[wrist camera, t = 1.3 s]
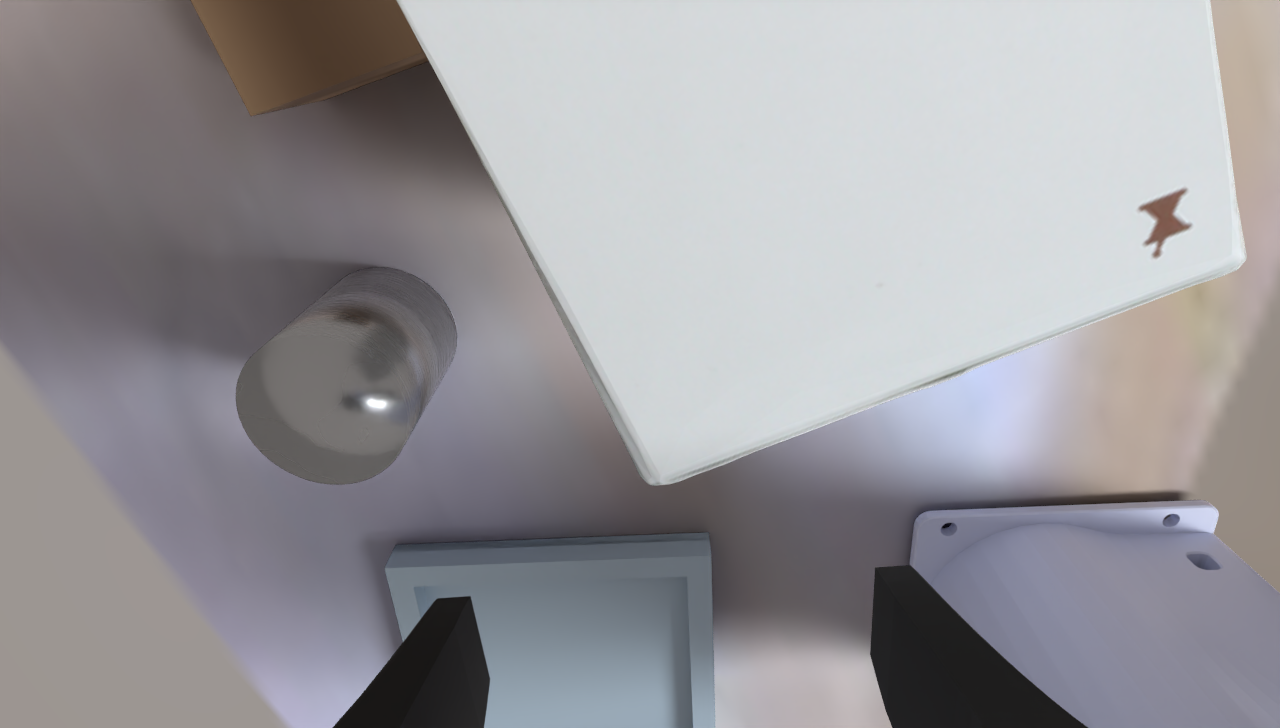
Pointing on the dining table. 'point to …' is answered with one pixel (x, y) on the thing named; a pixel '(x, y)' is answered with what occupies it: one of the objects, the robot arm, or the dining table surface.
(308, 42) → the walnut block
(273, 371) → the silver cylindrical canister
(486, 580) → the tray
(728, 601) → the dining table surface
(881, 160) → the supplement box
